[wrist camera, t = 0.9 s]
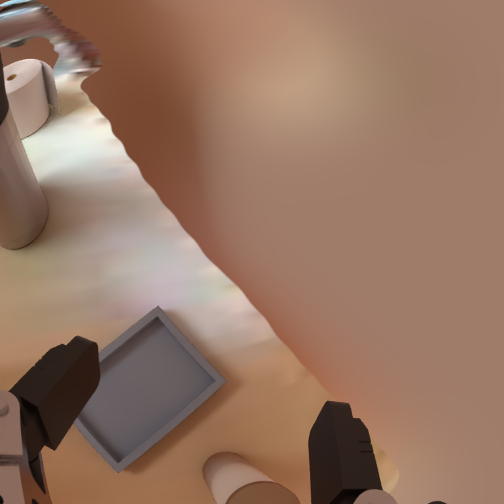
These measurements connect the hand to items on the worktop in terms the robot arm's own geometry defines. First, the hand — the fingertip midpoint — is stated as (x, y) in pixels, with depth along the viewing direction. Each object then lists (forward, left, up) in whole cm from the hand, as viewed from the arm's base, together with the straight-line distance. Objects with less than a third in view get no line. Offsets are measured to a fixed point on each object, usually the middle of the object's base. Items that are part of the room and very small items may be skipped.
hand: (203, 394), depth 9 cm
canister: (+10, -3, -24) cm, 26 cm away
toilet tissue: (-50, +4, -24) cm, 56 cm away
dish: (-3, -3, -24) cm, 24 cm away
